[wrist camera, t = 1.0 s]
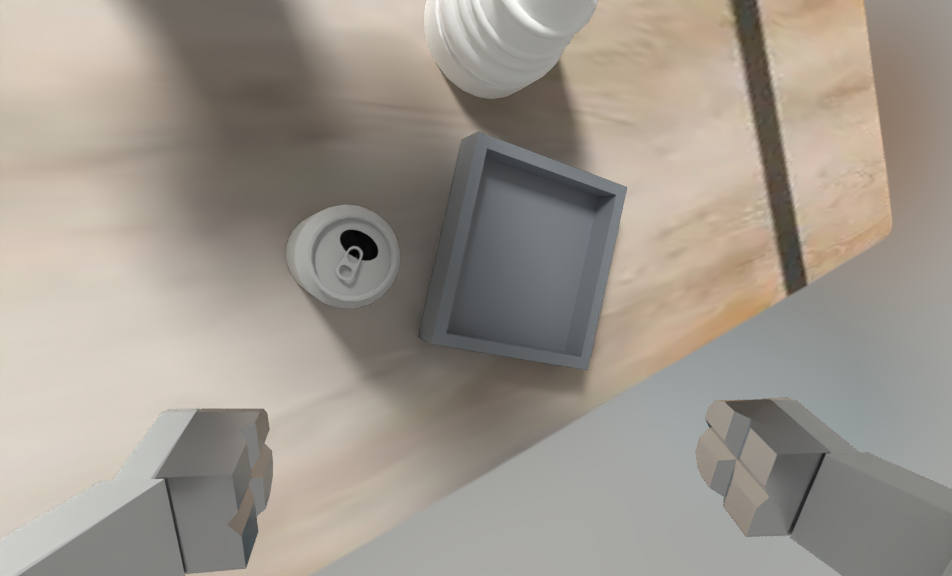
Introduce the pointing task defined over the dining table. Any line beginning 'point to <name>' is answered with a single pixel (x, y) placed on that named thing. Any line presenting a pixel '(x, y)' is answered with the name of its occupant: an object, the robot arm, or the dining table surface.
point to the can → (344, 256)
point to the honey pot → (501, 40)
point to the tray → (522, 256)
